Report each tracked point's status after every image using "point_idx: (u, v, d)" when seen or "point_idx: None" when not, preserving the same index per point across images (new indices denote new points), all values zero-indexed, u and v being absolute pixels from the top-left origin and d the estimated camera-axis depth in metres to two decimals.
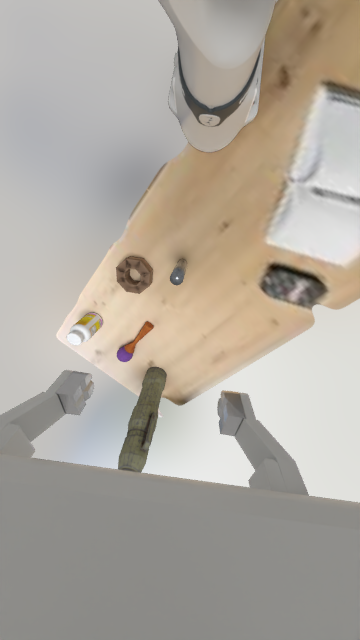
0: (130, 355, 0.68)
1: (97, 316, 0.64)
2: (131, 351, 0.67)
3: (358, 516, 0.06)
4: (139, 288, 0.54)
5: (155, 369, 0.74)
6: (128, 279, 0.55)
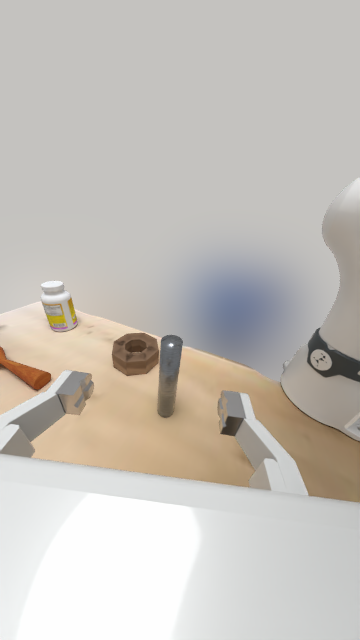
0: None
1: (71, 325, 0.50)
2: None
3: (358, 516, 0.06)
4: (119, 352, 0.38)
5: None
6: (129, 345, 0.43)
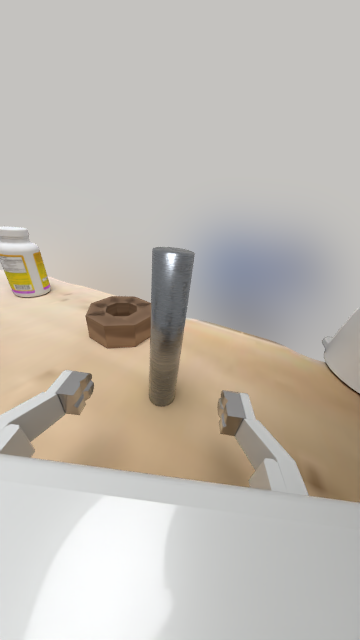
0: None
1: (41, 289, 0.38)
2: None
3: (358, 516, 0.06)
4: (97, 315, 0.27)
5: None
6: (114, 311, 0.31)
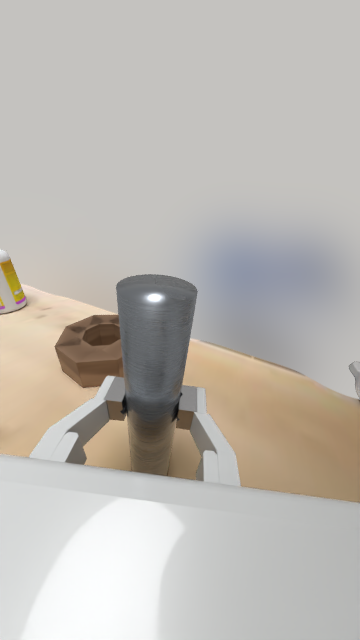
0: None
1: (12, 304, 0.32)
2: None
3: (358, 516, 0.06)
4: (70, 344, 0.21)
5: None
6: (95, 334, 0.25)
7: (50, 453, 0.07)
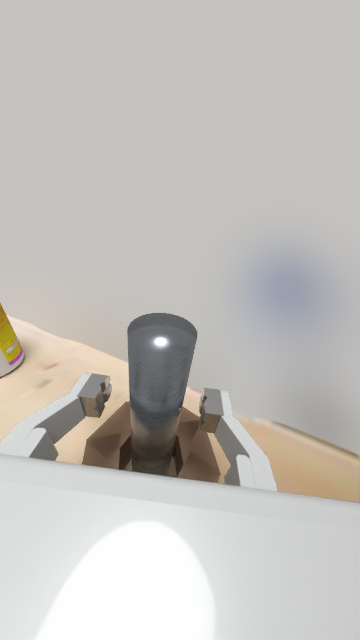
0: None
1: (4, 367, 0.23)
2: None
3: (358, 516, 0.06)
4: None
5: None
6: None
7: (15, 448, 0.07)
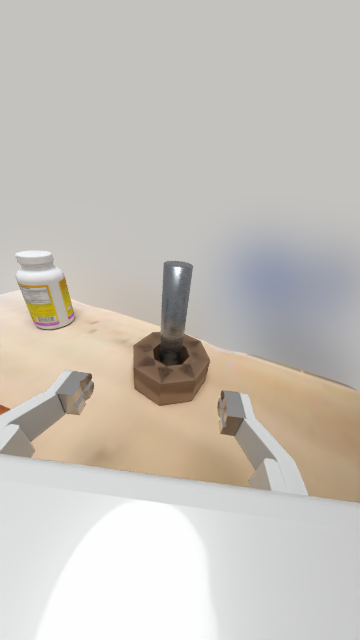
0: None
1: (65, 319, 0.33)
2: None
3: (358, 516, 0.06)
4: (146, 365, 0.22)
5: None
6: (158, 352, 0.26)
7: None
